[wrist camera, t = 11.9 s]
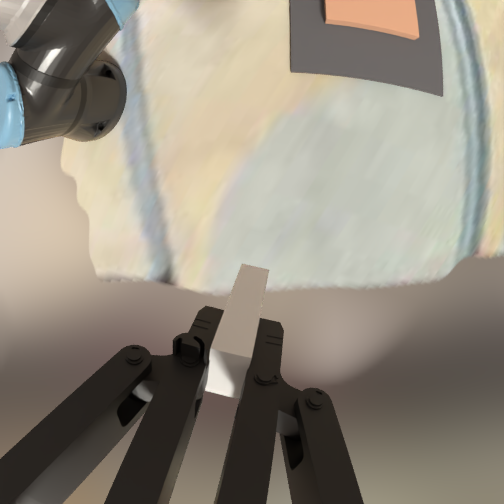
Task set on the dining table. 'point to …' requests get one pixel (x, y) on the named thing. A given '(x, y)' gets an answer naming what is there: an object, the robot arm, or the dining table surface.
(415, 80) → the mat
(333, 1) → the tile
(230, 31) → the dining table surface
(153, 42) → the dining table surface
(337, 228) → the dining table surface
